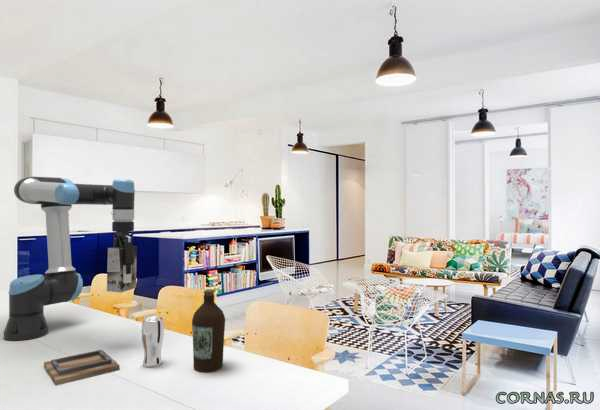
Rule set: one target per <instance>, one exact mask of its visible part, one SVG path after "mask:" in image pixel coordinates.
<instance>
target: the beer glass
mask: <svg viewBox="0 0 600 410" xmlns="http://www.w3.org/2000/svg"><path fill="white" fill-rule="evenodd" d="M164 325H165V324H164V317H162V316H149V317H144V318H143V319H142V323H141V342H142V346H143V360H142V366H143V367H144V368H157V367H158V366H161V365H162V363H163V360H162V347H163V341H164V331H165V330H164V329H165V327H164Z"/></svg>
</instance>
